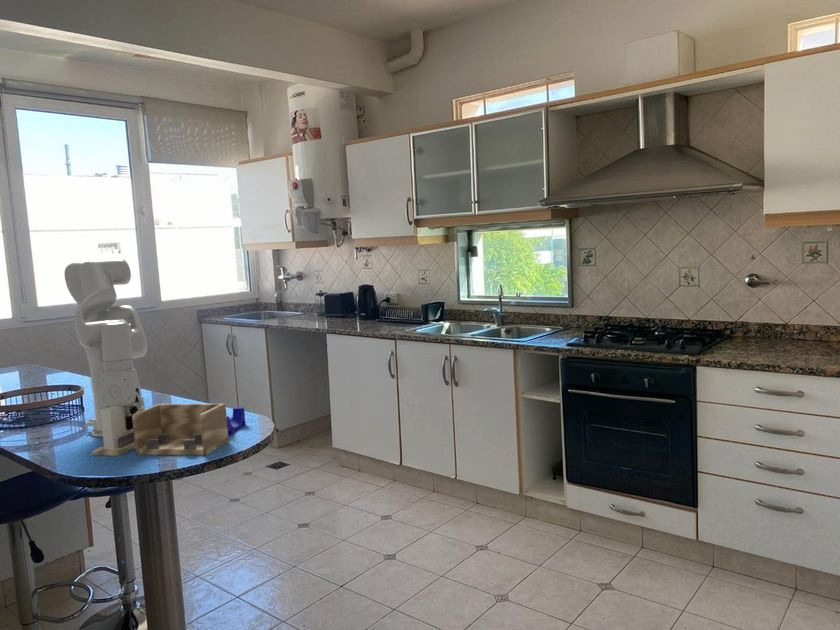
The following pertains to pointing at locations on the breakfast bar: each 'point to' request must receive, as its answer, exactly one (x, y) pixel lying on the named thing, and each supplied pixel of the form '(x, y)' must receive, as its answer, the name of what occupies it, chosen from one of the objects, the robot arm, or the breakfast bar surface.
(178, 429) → the cabinet
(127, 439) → the door stand
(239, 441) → the breakfast bar surface
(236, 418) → the cable clip
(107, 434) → the door
